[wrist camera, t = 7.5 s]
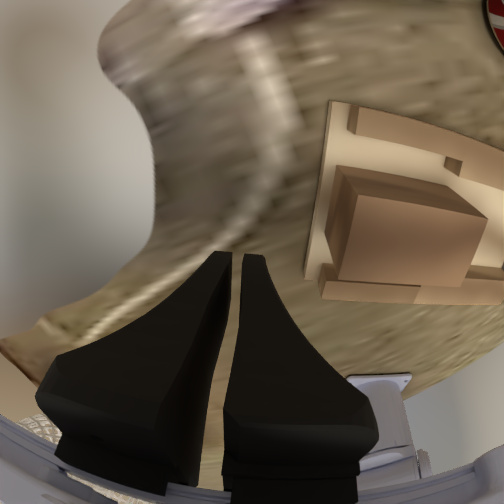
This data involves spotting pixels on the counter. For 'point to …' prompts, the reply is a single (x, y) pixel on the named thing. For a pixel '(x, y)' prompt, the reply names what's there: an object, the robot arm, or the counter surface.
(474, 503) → the robot arm
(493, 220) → the tapered wooden tray
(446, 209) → the tan upright prism
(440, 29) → the counter surface
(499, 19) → the soda can
